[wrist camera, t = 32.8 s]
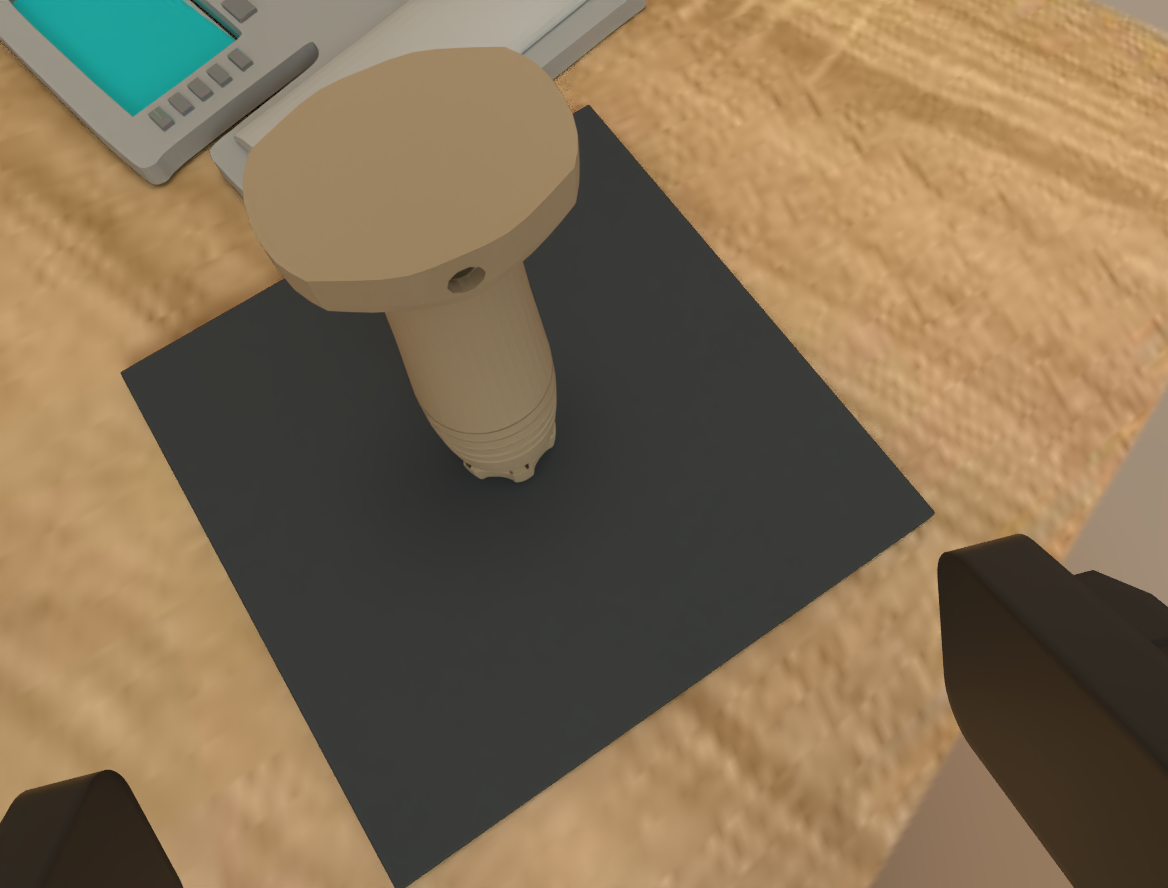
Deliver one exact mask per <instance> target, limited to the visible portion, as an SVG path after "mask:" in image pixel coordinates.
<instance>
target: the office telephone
mask: <svg viewBox="0 0 1168 888" xmlns="http://www.w3.org/2000/svg"><path fill="white" fill-rule="evenodd" d="M193 1H194V2H196V3H197V4H198V5H199V6H200V7H201V8H203V9H204V10H205V11H206V12H207V13H209V14H210V15H211V16H212V17H213V18H214V19H216V20H217V21H218V22H219V23H220V24H222V25H223V26H224V27H225V28H226V29H227V30H229V31H230V32H231V33H232V34H233V35H234V36H235V37H236V38H237V40H235V39H234V38H233V37H231V36H230V35H229V34H228V33H227V32H226V31H225V30H223V29H222V28H221V27H220V26H219V25H218V24H216V23H215V22H214V21H213V20H212V19H211V18H210V17H208V16H207V15H206V14H205V13H204V12H203V11H202V10H200V9H199V8H198V7H197V6H196V5H195V4H194V3H192V2H191V1H190V0H0V40H1V41H2V42H3V43H4V44H5V45H6V46H7V47H8V48H9V49H10V50H11V51H12V52H13V53H14V54H15V55H16V56H17V57H18V58H19V59H20V60H21V61H22V62H23V63H24V64H25V65H26V66H27V67H28V68H29V70H30V71H31V72H32V73H33V74H34V75H35V76H36V77H37V78H38V79H39V80H40V81H42V82H43V83H44V84H45V85H46V86H47V87H48V88H49V89H50V90H51V91H52V92H53V93H54V94H55V95H56V96H57V97H58V98H59V99H60V100H61V101H62V102H63V103H64V104H65V105H66V106H67V107H68V108H69V109H70V110H71V111H72V112H73V113H74V114H75V115H76V116H77V117H78V118H79V119H80V120H81V121H82V122H83V123H84V124H85V125H86V126H87V127H88V128H89V129H90V130H91V131H92V132H93V133H94V134H95V135H96V136H97V137H98V138H99V139H100V140H101V141H102V142H103V143H104V144H105V145H106V146H107V147H108V148H109V149H110V150H112V151H113V152H114V153H115V154H116V155H117V156H119V157H120V158H121V159H122V160H123V161H124V162H125V163H127V164H128V165H129V166H130V167H131V168H132V169H134V170H135V171H136V172H137V173H138V174H139V175H140V176H142V177H143V178H144V179H146V180H147V181H148V182H150V183H151V184H156V185H158V184H162V183H164V182H166V181H167V180H169V179H170V177H171V176H172V174H173V173H174V172H175V171H176V170H177V169H178V168H180V167H181V166H182V165H183V164H184V163H185V162H186V161H188V160H189V159H190V158H191V157H193V156H194V155H195V154H197V153H198V152H199V151H200V150H202V149H203V148H204V147H205V146H207V145H208V144H209V143H211V142H212V141H213V140H214V139H216V138H217V137H218V136H220V135H221V134H222V133H223V132H225V131H226V130H227V129H228V128H230V127H231V126H232V125H234V124H235V123H236V122H237V121H239V120H240V119H241V118H243V117H244V116H245V115H247V114H248V113H249V112H251V111H252V110H253V109H254V108H256V107H257V106H258V105H260V104H261V103H262V102H264V101H265V100H266V99H268V98H269V97H270V96H272V95H273V94H274V93H276V92H277V91H278V90H280V89H281V88H282V87H283V86H285V85H286V84H287V83H289V82H290V81H291V80H293V79H294V78H295V77H297V76H298V75H299V74H301V73H302V72H303V71H305V70H306V69H307V68H308V69H307V70H306V71H305V72H304V73H302V74H301V75H300V76H298V77H297V78H296V79H295V80H293V81H292V82H291V83H290V84H288V85H287V86H286V87H285V88H283V89H282V90H281V91H280V92H278V93H277V94H276V95H275V96H273V97H272V98H271V99H270V100H268V101H267V102H266V103H265V104H263V105H262V106H261V107H260V108H258V109H257V110H256V111H255V112H253V113H252V114H251V115H250V116H248V117H247V118H246V119H245V120H243V121H242V122H241V123H239V124H238V125H237V126H236V127H234V128H233V129H232V130H231V131H229V132H228V133H227V134H226V135H224V136H223V137H222V138H221V139H219V140H218V141H217V142H216V143H215V144H214V145H213V146H212V147H211V150H210V156H211V158H212V159H213V161H214V162H215V164H216V165H217V167H218V169H219V170H220V172H221V173H222V175H223V176H224V178H225V179H226V180H227V181H228V182H229V183H230V184H231V185H232V186H233V187H234V188H235V190H236V191H237V192H238V193H239V194H240V195H241V196H242V197H243V186H242V182H243V176H244V170H245V165H246V162H247V159H248V156H249V153H250V149H252V148H253V147H254V146H255V145H256V144H257V143H258V142H259V141H260V140H261V139H262V138H263V137H264V136H265V135H266V134H267V133H269V132H270V131H271V130H272V129H273V128H274V127H275V126H276V125H277V124H278V123H279V122H280V121H281V120H283V119H284V118H285V117H286V116H287V115H288V114H289V113H290V112H291V111H293V110H294V109H295V108H296V107H297V106H298V105H299V104H301V103H302V102H303V101H305V100H306V99H307V98H309V97H310V96H311V95H313V94H314V93H316V92H317V91H318V90H320V89H322V88H324V87H326V86H328V85H330V84H332V83H334V82H336V81H338V80H340V79H342V78H344V77H347V76H349V75H352V74H354V73H357V72H359V71H362V70H364V69H367V68H369V67H372V66H374V65H377V64H379V63H382V62H384V61H387V60H389V59H392V58H396V57H399V56H402V55H405V54H409V53H412V52H418V51H425V50H433V49H445V48H468V47H506V48H509V49H511V50H513V51H515V52H518V53H520V54H522V55H523V56H525V57H527V58H528V59H530V60H532V61H533V62H535V63H536V64H538V65H539V66H540V67H541V68H542V69H543V70H544V71H545V72H546V73H547V74H548V75H549V76H550V77H551V78H552V80H553V79H554V78H556V77H557V76H558V75H559V74H561V73H562V72H563V71H564V70H566V69H567V68H568V67H569V66H571V65H572V64H573V63H574V62H576V61H577V60H578V59H579V58H581V57H582V56H583V55H584V54H586V53H587V52H588V51H589V50H591V49H592V48H593V47H594V46H596V45H597V44H598V43H599V42H601V41H602V40H603V39H604V38H606V37H607V36H608V35H609V34H611V33H612V32H613V31H614V30H616V29H617V28H618V27H620V26H621V25H622V24H624V23H625V22H626V21H628V20H629V19H630V18H632V17H633V16H634V15H636V14H637V13H638V12H640V11H641V10H642V9H644V8H645V6H646V0H193ZM312 64H313V65H312ZM311 65H312V66H311ZM310 66H311V67H310ZM243 198H244V197H243Z"/></svg>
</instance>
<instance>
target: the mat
mask: <svg viewBox="0 0 1168 888" xmlns="http://www.w3.org/2000/svg"><path fill="white" fill-rule="evenodd" d="M573 117H574V121H575V125H576V129H577V133H578V144H579V159H580V173H579V188H578V194H577V199H576V203H575V205H574V206H573V208H572V209H571V210H570V211H569V213H568V214H567V215H566V216H565V218H564V219H563V220H562V221H561V222H560V223H559V225H558V226H557V227H556V228H555V229H554V230H553V232H552V233H551V234H550V235H549V236H548V237H547V238H546V239H545V240H544V241H543V242H542V243H541V245H540V246H539V247H538V248H537V249H536V250H535V251H534V252H533V253H532V254H531V255H530V256H528V257H527V258H526V259H525V260H524V261H523V264H524V267H525V271H526V274H527V278H528V281H529V284H530V288H531V291H532V294H533V297H534V300H535V303H536V306H537V309H538V312H539V315H540V318H541V321H542V324H543V327H544V330H545V333H546V336H547V339H548V342H549V345H550V350H551V355H552V359H553V364H554V370H555V376H556V397H557V403H556V405H557V406H556V415H555V423H556V436H555V442H554V445H553V447H551V448H550V449H548V450H547V451H545V452H544V454H543V455H542V456H541V457H540V458H539V460H538V462H537V464H536V466H535V469H534V475H533V476H532V477H530V478H529V479H527V480H525V481H522V482H517V483H516V482H514V481H513V480H512V479H509V478H505V477H486V478H485V479H480V478H478V477H476V476H475V475H473V474H472V473H471V472H470V471H469V470H468V469H467V468H466V467H465V466H464V464H463V462H464V461H463V460H462V459H461V458H460V457H458V456H457V455H456V454H455V453H454V452H453V451H452V450H451V449H450V448H449V447H448V446H447V445H446V444H445V442H444V441H443V440H442V439H441V437H440V436H439V435H438V434H437V432H436V431H435V430H434V428H433V427H432V426H431V424H430V422H429V421H428V419H427V417H426V415H425V413H424V412H423V410H422V408H421V406H420V404H419V402H418V400H417V397H416V396H415V393H414V391H413V388H412V385H411V382H410V379H409V376H408V374H407V371H406V368H405V365H404V362H403V359H402V357H401V354H400V351H399V348H398V345H397V342H396V340H395V337H394V334H393V332H392V329H391V327H390V324H389V322H388V319H387V317H386V314H385V312H376V313H369V312H340V311H327V310H325V309H323V308H321V307H319V306H318V305H316V304H314V303H312V302H310V301H309V300H308V299H306V298H305V297H304V296H302V295H301V294H300V293H298V292H297V291H295V290H294V289H293V287H292V286H291V285H290V284H289V283H288V282H287V280H286V279H283V280H281V281H279V282H278V283H276V284H274V285H272V286H271V287H269V288H267V289H265V290H264V291H262V292H260V293H258V294H257V295H255V296H253V297H251V298H250V299H248V300H246V301H244V302H243V303H241V304H239V305H237V306H236V307H234V308H232V309H230V310H229V311H227V312H225V313H223V314H222V315H220V316H218V317H216V318H215V319H213V320H211V321H209V322H208V323H206V324H204V325H202V326H201V327H199V328H197V329H195V330H194V331H192V332H190V333H188V334H187V335H185V336H183V337H181V338H180V339H178V340H176V341H174V342H173V343H171V344H169V345H167V346H166V347H164V348H162V349H160V350H159V351H157V352H155V353H153V354H152V355H150V356H148V357H146V358H145V359H143V360H141V361H139V362H138V363H136V364H134V365H132V366H131V367H129V368H127V369H125V370H124V371H122V372H121V375H122V377H123V379H124V381H125V383H126V385H127V387H128V388H129V390H130V392H131V394H132V396H133V398H134V400H135V402H136V403H137V405H138V407H139V409H140V411H141V413H142V415H143V417H144V418H145V420H146V422H147V424H148V426H149V428H150V430H151V432H152V433H153V435H154V437H155V439H156V441H157V443H158V445H159V447H160V448H161V450H162V452H163V454H164V456H165V458H166V460H167V462H168V463H169V465H170V467H171V469H172V471H173V473H174V475H175V477H176V478H177V480H178V482H179V484H180V486H181V488H182V490H183V492H184V493H185V495H186V497H187V499H188V501H189V503H190V505H191V507H192V508H193V510H194V512H195V514H196V516H197V518H198V520H199V522H200V523H201V525H202V527H203V529H204V531H205V533H206V535H207V537H208V538H209V540H210V542H211V544H212V546H213V548H214V550H215V552H216V553H217V555H218V557H219V559H220V561H221V563H222V565H223V567H224V568H225V570H226V572H227V574H228V576H229V578H230V580H231V582H232V583H233V585H234V587H235V589H236V591H237V593H238V595H239V597H240V598H241V600H242V602H243V604H244V606H245V608H246V610H247V612H248V613H249V615H250V617H251V619H252V621H253V623H254V625H255V627H256V628H257V630H258V632H259V634H260V636H261V638H262V640H263V642H264V643H265V645H266V647H267V649H268V651H269V653H270V655H271V657H272V658H273V660H274V662H275V664H276V666H277V668H278V670H279V672H280V673H281V675H282V677H283V679H284V681H285V683H286V685H287V687H288V688H289V690H290V692H291V694H292V696H293V698H294V700H295V702H296V703H297V705H298V707H299V709H300V711H301V713H302V715H303V717H304V718H305V720H306V722H307V724H308V726H309V728H310V730H311V732H312V733H313V735H314V737H315V739H316V741H317V743H318V745H319V747H320V748H321V750H322V752H323V754H324V756H325V758H326V760H327V762H328V763H329V765H330V767H331V769H332V771H333V773H334V775H335V777H336V778H337V780H338V782H339V784H340V786H341V788H342V790H343V792H344V793H345V795H346V797H347V799H348V801H349V803H350V805H351V807H352V808H353V810H354V812H355V814H356V816H357V818H358V820H359V822H360V823H361V825H362V827H363V829H364V831H365V833H366V835H367V837H368V838H369V840H370V842H371V844H372V846H373V848H374V850H375V852H376V853H377V855H378V857H379V859H380V861H381V863H382V865H383V867H384V868H385V870H386V872H387V874H388V876H389V878H390V880H391V882H392V883H393V885H394V887H395V888H405V887H407V886H408V885H409V884H411V883H412V882H414V881H415V880H417V879H418V878H419V877H421V876H422V875H424V874H425V873H426V872H428V871H429V870H431V869H432V868H434V867H435V866H436V865H438V864H439V863H441V862H442V861H444V860H445V859H446V858H448V857H449V856H451V855H452V854H453V853H455V852H456V851H458V850H459V849H461V848H462V847H463V846H465V845H466V844H468V843H469V842H471V841H472V840H473V839H475V838H476V837H478V836H479V835H480V834H482V833H483V832H485V831H486V830H488V829H489V828H490V827H492V826H493V825H495V824H496V823H498V822H499V821H500V820H502V819H503V818H505V817H506V816H507V815H509V814H510V813H512V812H513V811H515V810H516V809H517V808H519V807H520V806H522V805H523V804H525V803H526V802H527V801H529V800H530V799H532V798H533V797H534V796H536V795H537V794H539V793H540V792H542V791H543V790H544V789H546V788H547V787H549V786H550V785H552V784H553V783H554V782H556V781H557V780H559V779H560V778H561V777H563V776H564V775H566V774H567V773H569V772H570V771H571V770H573V769H574V768H576V767H577V766H579V765H580V764H581V763H583V762H584V761H586V760H587V759H588V758H590V757H591V756H593V755H594V754H596V753H597V752H598V751H600V750H601V749H603V748H604V747H606V746H607V745H608V744H610V743H611V742H613V741H614V740H615V739H617V738H618V737H620V736H621V735H623V734H624V733H625V732H627V731H628V730H630V729H631V728H633V727H634V726H635V725H637V724H638V723H640V722H641V721H642V720H644V719H645V718H647V717H648V716H650V715H651V714H652V713H654V712H655V711H657V710H658V709H660V708H661V707H662V706H664V705H665V704H667V703H668V702H669V701H671V700H672V699H674V698H675V697H677V696H678V695H679V694H681V693H682V692H684V691H685V690H687V689H688V688H689V687H691V686H692V685H694V684H695V683H696V682H698V681H699V680H701V679H702V678H704V677H705V676H706V675H708V674H709V673H711V672H712V671H714V670H715V669H716V668H718V667H719V666H721V665H722V664H723V663H725V662H726V661H728V660H729V659H731V658H732V657H733V656H735V655H736V654H738V653H739V652H741V651H742V650H743V649H745V648H746V647H748V646H749V645H750V644H752V643H753V642H755V641H756V640H758V639H759V638H760V637H762V636H763V635H765V634H766V633H768V632H769V631H770V630H772V629H773V628H775V627H776V626H777V625H779V624H780V623H782V622H783V621H785V620H786V619H787V618H789V617H790V616H792V615H793V614H795V613H796V612H797V611H799V610H800V609H802V608H803V607H804V606H806V605H807V604H809V603H810V602H812V601H813V600H814V599H816V598H817V597H819V596H820V595H822V594H823V593H824V592H826V591H827V590H829V589H830V588H831V587H833V586H834V585H836V584H837V583H839V582H840V581H841V580H843V579H844V578H846V577H847V576H849V575H850V574H851V573H853V572H854V571H856V570H857V569H858V568H860V567H861V566H863V565H864V564H866V563H867V562H868V561H870V560H871V559H873V558H874V557H876V556H877V555H878V554H880V553H881V552H883V551H884V550H885V549H887V548H888V547H890V546H891V545H893V544H894V543H895V542H897V541H898V540H900V539H901V538H903V537H904V536H905V535H907V534H908V533H910V532H911V531H912V530H914V529H915V528H917V527H918V526H920V525H921V524H922V523H924V522H925V521H927V520H928V519H930V518H931V517H932V516H933V515H934V513H935V512H934V510H933V509H932V508H931V507H930V506H929V505H928V503H927V502H926V501H925V500H924V499H923V498H922V496H921V495H920V494H919V493H918V492H917V490H916V489H915V488H914V487H913V486H912V485H911V483H910V482H909V481H908V480H907V479H906V477H905V476H904V475H903V474H902V473H901V472H900V470H899V469H898V468H897V467H896V466H895V465H894V463H893V462H892V461H891V460H890V459H889V457H888V456H887V455H886V454H885V453H884V452H883V450H882V449H881V448H880V447H879V446H878V444H877V443H876V442H875V441H874V440H873V439H872V437H871V436H870V435H869V434H868V433H867V432H866V430H865V429H864V428H863V427H862V426H861V424H860V423H859V422H858V421H857V420H856V419H855V417H854V416H853V415H852V414H851V413H850V411H849V410H848V409H847V408H846V407H845V406H844V404H843V403H842V402H841V401H840V400H839V399H838V397H837V396H836V395H835V394H834V393H833V391H832V390H831V389H830V388H829V387H828V386H827V384H826V383H825V382H824V381H823V380H822V379H821V377H820V376H819V375H818V374H817V373H816V371H815V370H814V369H813V368H812V367H811V366H810V364H809V363H808V362H807V361H806V360H805V358H804V357H803V356H802V355H801V354H800V353H799V351H798V350H797V349H796V348H795V347H794V346H793V344H792V343H791V342H790V341H789V340H788V338H787V337H786V336H785V335H784V334H783V333H782V331H781V330H780V329H779V328H778V327H777V325H776V324H775V323H774V322H773V321H772V320H771V318H770V317H769V316H768V315H767V314H766V313H765V311H764V310H763V309H762V308H761V307H760V305H759V304H758V303H757V302H756V301H755V300H754V298H753V297H752V296H751V295H750V294H749V292H748V291H747V290H746V289H745V288H744V287H743V285H742V284H741V283H740V282H739V281H738V280H737V278H736V277H735V276H734V275H733V274H732V272H731V271H730V270H729V269H728V268H727V267H726V265H725V264H724V263H723V262H722V261H721V260H720V258H719V257H718V256H717V255H716V254H715V252H714V251H713V250H712V249H711V248H710V247H709V245H708V244H707V243H706V242H705V241H704V239H703V238H702V237H701V236H700V235H699V234H698V232H697V231H696V230H695V229H694V228H693V227H692V225H691V224H690V223H689V222H688V221H687V219H686V218H685V217H684V216H683V215H682V214H681V212H680V211H679V210H678V209H677V208H676V206H675V205H674V204H673V203H672V202H671V201H670V199H669V198H668V197H667V196H666V195H665V194H664V192H663V191H662V190H661V189H660V188H659V186H658V185H657V184H656V183H655V182H654V181H653V179H652V178H651V177H650V176H649V175H648V173H647V172H646V171H645V170H644V169H643V168H642V166H641V165H640V164H639V163H638V162H637V161H636V159H635V158H634V157H633V156H632V155H631V153H630V152H629V151H628V150H627V149H626V148H625V146H624V145H623V144H622V143H621V142H620V140H619V139H618V138H617V137H616V136H615V135H614V133H613V132H612V131H611V130H610V129H609V128H608V126H607V125H606V124H605V123H604V122H603V120H602V119H601V118H600V117H599V116H598V115H597V113H596V112H595V111H594V110H593V109H592V108H591V106H590V105H587V106H586V107H584V108H582V109H580V110H579V111H577V112H575V113H573Z"/></svg>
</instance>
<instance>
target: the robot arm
mask: <svg viewBox="0 0 1168 888" xmlns="http://www.w3.org/2000/svg"><path fill="white" fill-rule="evenodd" d="M937 573H938V591H939V606H940V621H941V636H942V651H943V666H944V679H945V686H946V691H947V695H948V699H949V702H950V705H951V709H952V711H953V714H954V717H955V719H956V721H957V723H958V726H959V728H960V730H961V732H962V734H963V735H964V737H965V739H966V741H967V742H968V743H969V745H970V746H971V748H972V749H973V751H974V752H975V753H976V755H977V756H978V757H979V759H980V760H981V761H982V763H983V764H984V765H985V767H986V768H987V770H988V771H989V772H990V774H991V775H992V776H993V778H994V779H995V780H996V782H997V783H998V785H999V786H1000V787H1001V789H1002V790H1003V791H1004V792H1005V794H1006V795H1007V797H1008V798H1009V800H1010V801H1011V802H1012V804H1013V805H1014V806H1015V808H1016V809H1017V810H1018V812H1019V813H1020V815H1021V816H1022V817H1023V819H1024V820H1025V821H1026V823H1027V824H1028V826H1029V827H1030V828H1031V830H1032V831H1033V832H1034V834H1035V835H1036V836H1037V838H1038V839H1039V840H1040V842H1041V843H1042V844H1043V846H1044V847H1045V849H1046V850H1047V851H1048V853H1049V854H1050V855H1051V857H1052V858H1053V860H1054V861H1055V862H1056V864H1057V865H1058V866H1059V868H1060V869H1061V870H1062V872H1063V873H1064V875H1065V876H1066V877H1067V879H1068V880H1069V881H1070V883H1071V884H1072V885H1073V887H1074V888H1168V607H1167V606H1166V605H1165V604H1163V603H1162V602H1161V601H1159V600H1158V599H1157V598H1156V597H1155V596H1153V595H1152V594H1150V593H1148V592H1145V591H1143V590H1140V589H1138V588H1135V587H1133V586H1130V585H1128V584H1126V583H1123V582H1121V581H1118V580H1116V579H1114V578H1111V577H1109V576H1106V575H1104V574H1102V573H1099V572H1097V571H1094V570H1092V571H1088V572H1084V573H1080V574H1076V575H1073V574H1071V573H1070V572H1069V571H1068V570H1067V569H1066V568H1065V567H1063V566H1062V565H1061V564H1060V563H1059V562H1058V561H1057V560H1055V559H1054V558H1053V557H1052V556H1051V555H1050V554H1048V553H1047V552H1046V551H1045V550H1044V549H1043V548H1041V547H1040V546H1039V545H1038V544H1037V543H1036V542H1035V541H1033V540H1032V539H1031V538H1029V537H1028V536H1025V535H1023V534H1015V535H1011V536H1007V537H1003V538H1000V539H996V540H992V541H988V542H984V543H980V544H976V545H972V546H968V547H964V548H960V549H957V550H953V551H949V552H945V553H943V554H942V555H941V557H940V559H939V562H938V569H937ZM0 888H183V886H182V883H181V881H180V879H179V877H178V875H177V873H176V872H175V870H174V868H173V866H172V864H171V862H170V860H169V859H168V857H167V855H166V853H165V851H164V849H163V848H162V846H161V844H160V842H159V840H158V838H157V836H156V835H155V833H154V831H153V829H152V827H151V825H150V824H149V822H148V820H147V818H146V816H145V814H144V812H143V811H142V809H141V807H140V805H139V803H138V801H137V800H136V798H135V796H134V794H133V792H132V790H131V789H130V787H129V785H128V784H127V782H126V781H125V779H124V778H123V777H122V776H121V775H120V774H118V773H117V772H115V771H112V770H104V771H100V772H96V773H92V774H88V775H84V776H80V777H77V778H73V779H69V780H65V781H61V782H57V783H53V784H49V785H45V786H41V787H38V788H34V789H30V790H26V791H24V792H23V793H21V794H20V795H19V796H18V797H17V798H16V799H15V800H14V801H13V803H12V804H11V806H10V807H9V809H8V811H7V813H6V814H5V816H4V818H3V820H2V821H1V823H0Z"/></svg>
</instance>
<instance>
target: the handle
mask: <svg viewBox="0 0 1168 888" xmlns="http://www.w3.org/2000/svg"><path fill="white" fill-rule="evenodd" d="M579 173H580V159H579V144H578V133H577V129H576V125H575V121H574V117H573V114H572V112H571V109H570V107H569V105H568V103H567V101H566V99H565V97H564V95H563V93H562V92H561V91H560V89H559V88H558V86H557V85H556V84H555V82H554V81H553V80H552V78H551V77H550V76H549V75H548V74H547V73H546V72H545V71H544V70H543V69H542V68H541V67H540V66H539V65H538V64H536V63H535V62H533V61H532V60H530V59H528V58H527V57H525V56H523V55H522V54H520V53H518V52H515V51H513V50H511V49H509V48H506V47H468V48H445V49H433V50H425V51H418V52H412V53H409V54H405V55H402V56H399V57H396V58H392V59H389V60H387V61H384V62H382V63H379V64H377V65H374V66H372V67H369V68H367V69H364V70H362V71H359V72H357V73H354V74H352V75H349V76H347V77H344V78H342V79H340V80H338V81H336V82H334V83H332V84H330V85H328V86H326V87H324V88H322V89H320V90H318V91H317V92H316V93H314V94H313V95H311V96H310V97H309V98H307V99H306V100H305V101H303V102H302V103H301V104H299V105H298V106H297V107H296V108H295V109H294V110H293V111H291V112H290V113H289V114H288V115H287V116H286V117H285V118H284V119H283V120H281V121H280V122H279V123H278V124H277V125H276V126H275V127H274V128H273V129H272V130H271V131H270V132H269V133H267V134H266V135H265V136H264V137H263V138H262V139H261V140H260V141H259V142H258V143H257V144H256V145H255V146H254V147H253V148H252V149H250V153H249V156H248V159H247V162H246V165H245V170H244V176H243V182H242V186H243V197H244V205H245V208H246V212H247V215H248V218H249V222H250V225H251V227H252V229H253V231H254V233H255V234H256V236H257V238H258V240H259V242H260V244H261V246H262V247H263V249H264V250H265V252H266V253H267V255H268V256H269V258H270V259H271V261H272V262H273V264H274V265H275V266H276V268H277V269H278V270H279V272H280V273H281V274H282V275H283V277H284V278H285V279H286V280H287V282H288V283H289V284H290V285H291V286H292V287H293V289H294V290H295V291H297V292H298V293H300V294H301V295H302V296H304V297H305V298H306V299H308V300H309V301H310V302H312V303H314V304H316V305H318V306H319V307H321V308H323V309H325V310H327V311H340V312H369V313H376V312H385V314H386V317H387V319H388V322H389V324H390V327H391V329H392V332H393V334H394V337H395V340H396V342H397V345H398V348H399V351H400V354H401V357H402V359H403V362H404V365H405V368H406V371H407V374H408V376H409V379H410V382H411V385H412V388H413V391H414V393H415V396H416V397H417V400H418V402H419V404H420V406H421V408H422V410H423V412H424V413H425V415H426V417H427V419H428V421H429V422H430V424H431V426H432V427H433V428H434V430H435V431H436V432H437V434H438V435H439V436H440V437H441V439H442V440H443V441H444V442H445V444H446V445H447V446H448V447H449V448H450V449H451V450H452V451H453V452H454V453H455V454H456V455H457V456H458V457H460V458H461V459H462V460H463V461H464V462H463V464H464V466H465V467H466V468H467V469H468V470H469V471H470V472H471V473H472V474H473V475H475V476H476V477H478V478H480V479H485V478H486V477H505V478H509V479H512V480H513V481H514V482H516V483H517V482H522V481H525V480H527V479H529V478H530V477H532V476H533V475H534V469H535V466H536V464H537V462H538V460H539V458H540V457H541V456H542V455H543V454H544V452H545V451H547V450H548V449H550V448H551V447H553V445H554V442H555V436H556V423H555V415H556V406H557V405H556V403H557V397H556V376H555V370H554V364H553V359H552V355H551V350H550V345H549V342H548V339H547V336H546V333H545V330H544V327H543V324H542V321H541V318H540V315H539V312H538V309H537V306H536V303H535V300H534V297H533V294H532V291H531V288H530V284H529V281H528V278H527V274H526V271H525V267H524V264H523V261H524V260H525V259H526V258H527V257H528V256H530V255H531V254H532V253H533V252H534V251H535V250H536V249H537V248H538V247H539V246H540V245H541V243H542V242H543V241H544V240H545V239H546V238H547V237H548V236H549V235H550V234H551V233H552V232H553V230H554V229H555V228H556V227H557V226H558V225H559V223H560V222H561V221H562V220H563V219H564V218H565V216H566V215H567V214H568V213H569V211H570V210H571V209H572V208H573V206H574V205H575V203H576V199H577V194H578V188H579Z"/></svg>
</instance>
